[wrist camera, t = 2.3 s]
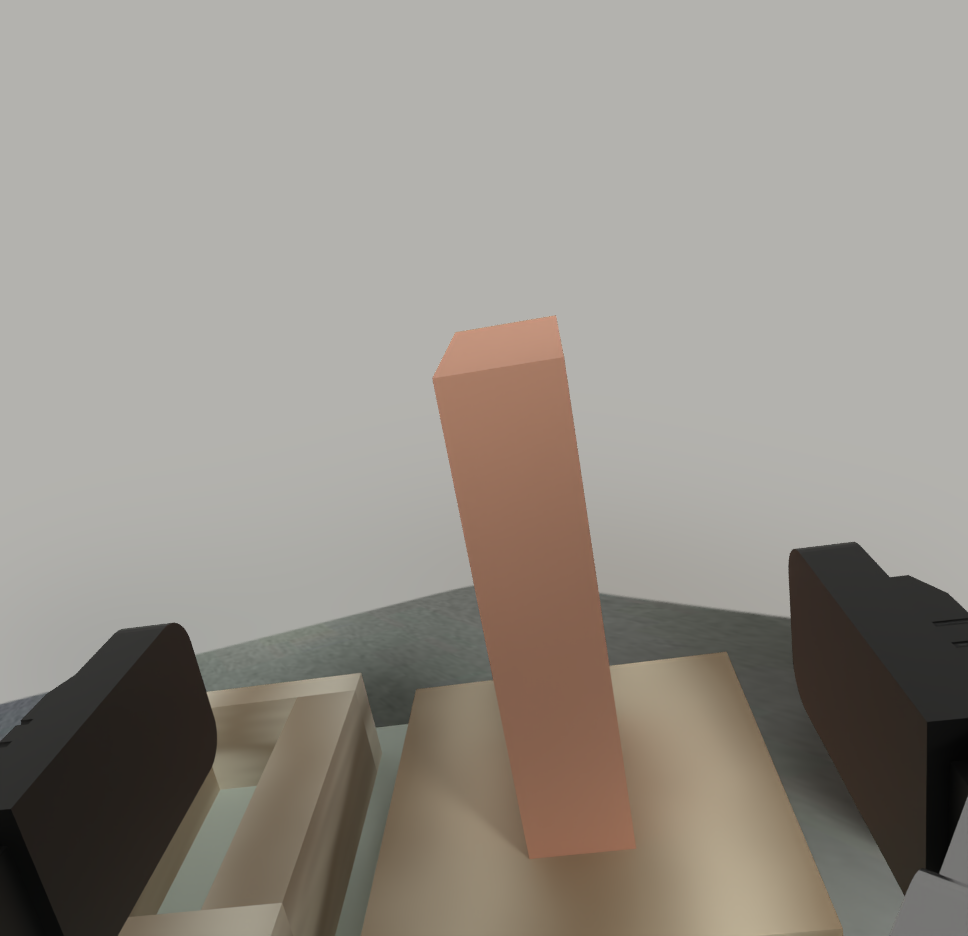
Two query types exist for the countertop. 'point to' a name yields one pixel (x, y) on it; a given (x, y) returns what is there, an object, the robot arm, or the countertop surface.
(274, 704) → the beige open box
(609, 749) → the tall salmon pillar
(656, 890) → the wooden square slab
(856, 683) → the robot arm
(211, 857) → the mat
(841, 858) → the countertop surface
